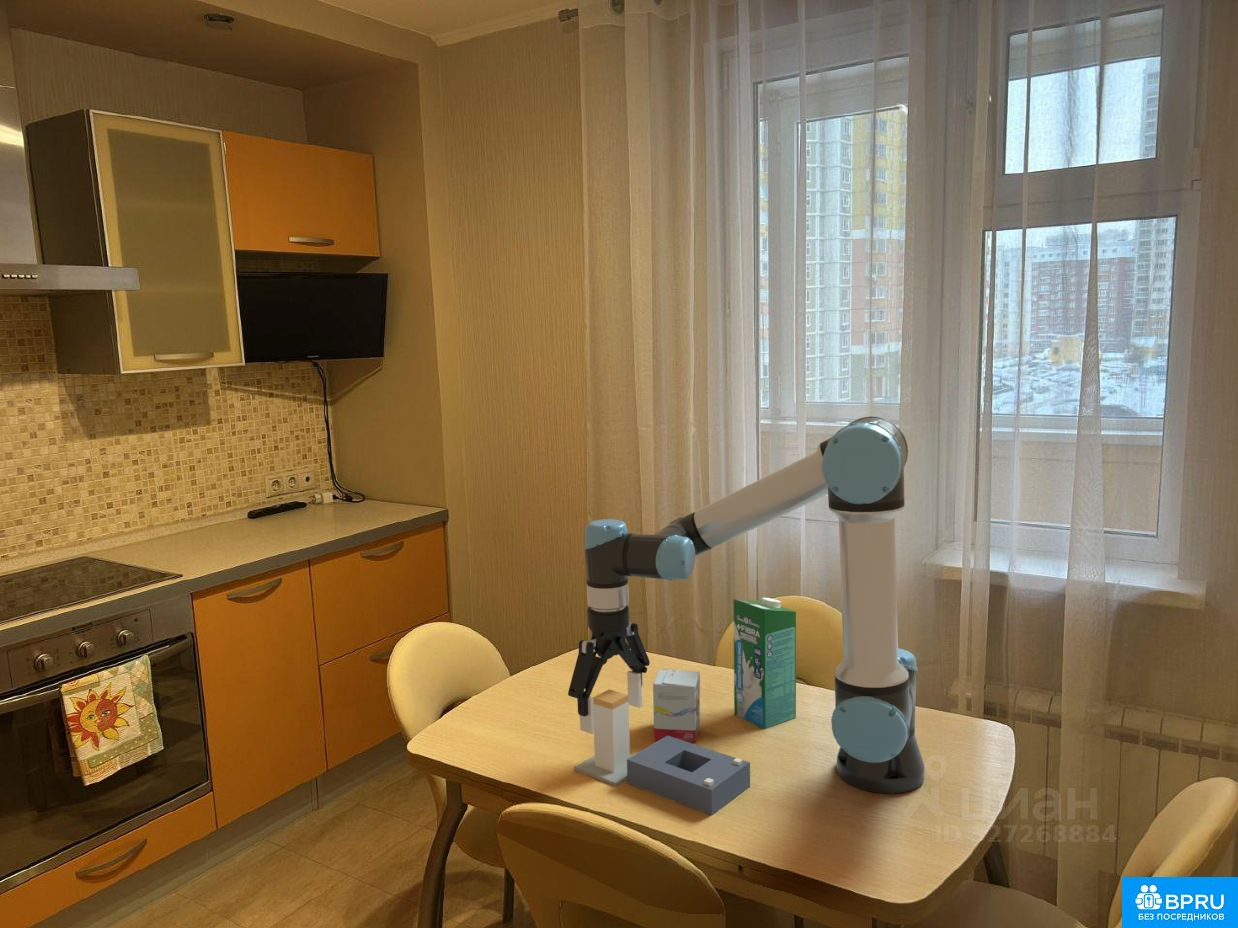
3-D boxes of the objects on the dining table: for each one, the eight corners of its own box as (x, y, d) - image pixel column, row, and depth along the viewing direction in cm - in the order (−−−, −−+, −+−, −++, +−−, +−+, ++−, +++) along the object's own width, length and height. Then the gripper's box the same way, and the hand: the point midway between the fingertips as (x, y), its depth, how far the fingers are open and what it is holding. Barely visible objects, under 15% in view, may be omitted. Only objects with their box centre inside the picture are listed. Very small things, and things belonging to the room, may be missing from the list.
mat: (650, 764, 169) (650, 761, 169) (616, 785, 162) (615, 782, 162) (609, 749, 176) (609, 746, 176) (574, 769, 168) (574, 766, 168)
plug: (630, 762, 169) (628, 694, 167) (614, 772, 165) (612, 703, 163) (611, 756, 172) (609, 689, 170) (595, 765, 168) (592, 697, 166)
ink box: (696, 743, 177) (695, 685, 176) (652, 740, 179) (651, 683, 177) (701, 724, 186) (700, 669, 184) (659, 722, 188) (658, 667, 186)
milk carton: (796, 717, 188) (796, 600, 184) (763, 729, 183) (763, 608, 179) (765, 703, 195) (765, 590, 192) (733, 714, 190) (732, 598, 187)
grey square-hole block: (750, 786, 160) (749, 759, 160) (711, 815, 151) (711, 786, 150) (667, 757, 172) (667, 732, 171) (627, 783, 163) (626, 756, 162)
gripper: (635, 586, 176) (638, 691, 179) (544, 620, 157) (549, 737, 160) (666, 592, 171) (669, 700, 174) (576, 628, 152) (581, 748, 155)
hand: (612, 718), depth 167 cm, fingers open, 13 cm apart
